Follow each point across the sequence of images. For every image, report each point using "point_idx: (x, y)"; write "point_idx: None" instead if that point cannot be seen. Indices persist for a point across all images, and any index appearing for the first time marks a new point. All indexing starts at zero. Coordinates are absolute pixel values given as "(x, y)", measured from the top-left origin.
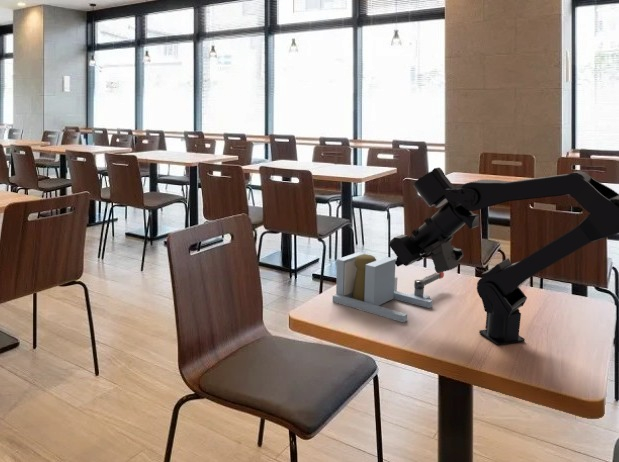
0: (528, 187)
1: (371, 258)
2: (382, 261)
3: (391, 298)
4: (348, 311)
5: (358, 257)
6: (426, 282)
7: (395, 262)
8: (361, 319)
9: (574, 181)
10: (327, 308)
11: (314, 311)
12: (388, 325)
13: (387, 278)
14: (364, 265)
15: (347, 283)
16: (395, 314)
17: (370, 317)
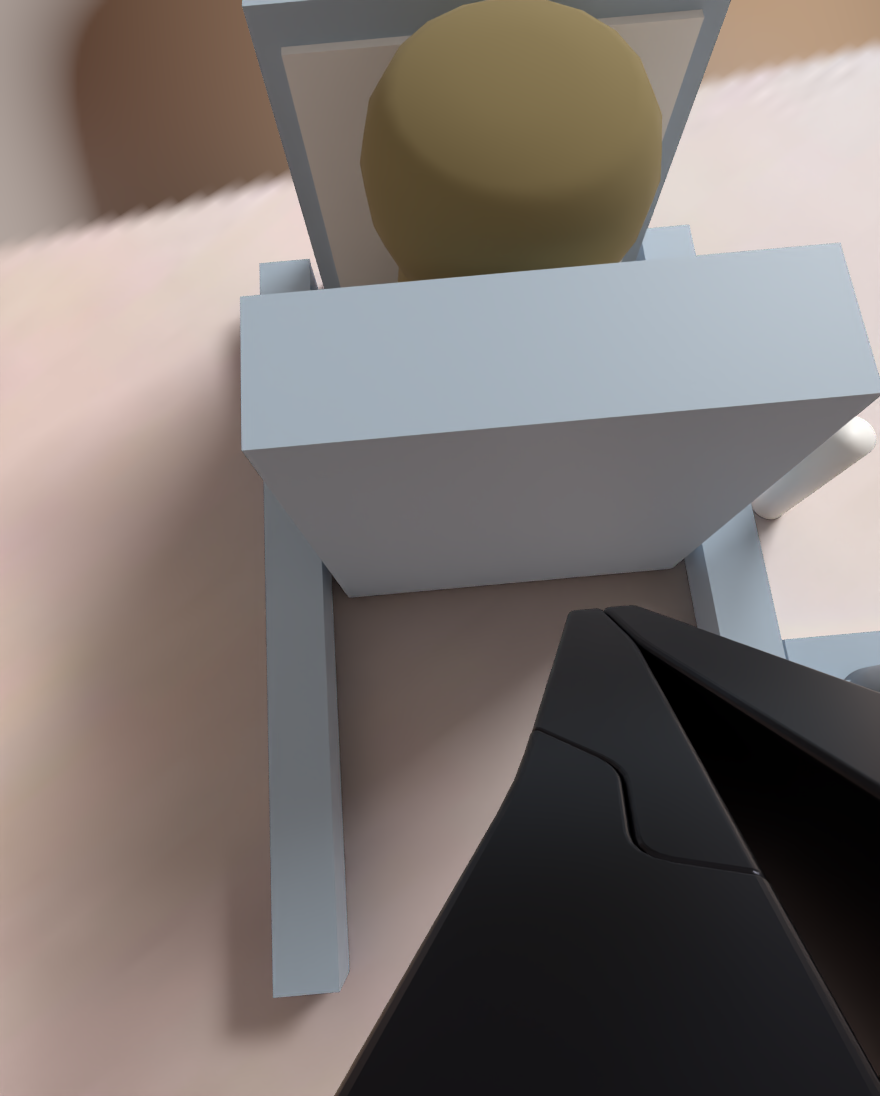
0: None
1: (505, 189)
2: (575, 353)
3: (634, 570)
4: (189, 495)
5: (403, 54)
6: None
7: (569, 621)
8: (117, 669)
9: None
10: (136, 359)
11: (29, 340)
12: (151, 914)
13: (591, 510)
14: (384, 234)
15: (369, 241)
16: (274, 892)
17: (199, 692)
